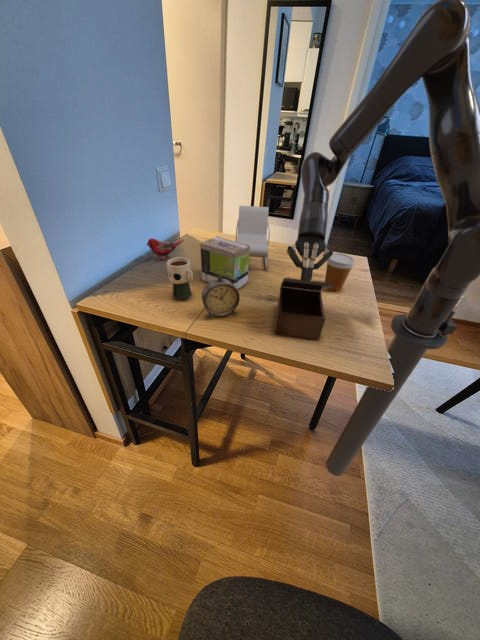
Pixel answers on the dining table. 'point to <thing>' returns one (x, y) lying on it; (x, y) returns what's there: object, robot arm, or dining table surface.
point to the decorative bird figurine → (162, 247)
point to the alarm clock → (220, 296)
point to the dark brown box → (299, 313)
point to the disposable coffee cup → (338, 270)
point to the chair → (254, 230)
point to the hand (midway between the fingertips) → (305, 282)
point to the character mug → (180, 277)
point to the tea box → (225, 260)
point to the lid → (305, 284)
